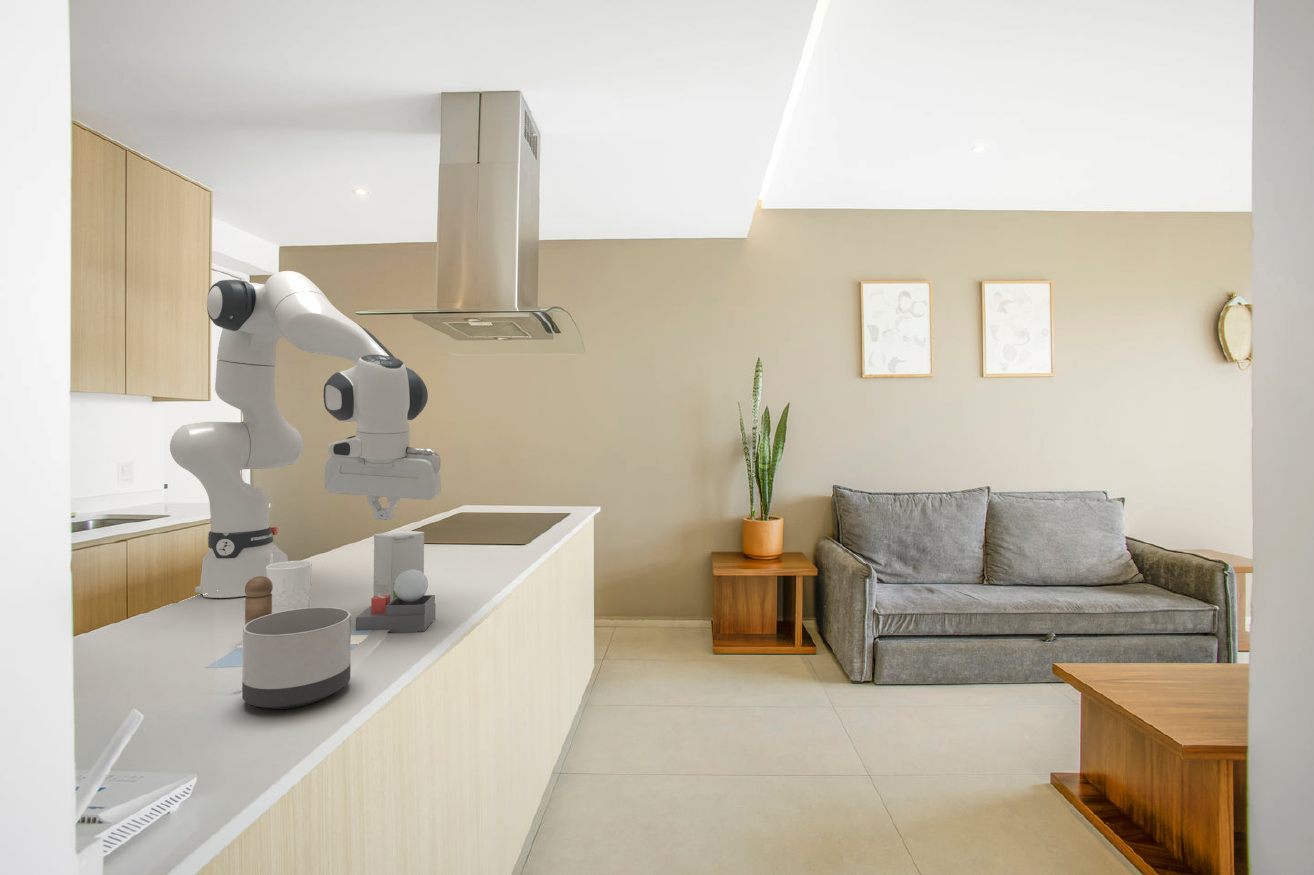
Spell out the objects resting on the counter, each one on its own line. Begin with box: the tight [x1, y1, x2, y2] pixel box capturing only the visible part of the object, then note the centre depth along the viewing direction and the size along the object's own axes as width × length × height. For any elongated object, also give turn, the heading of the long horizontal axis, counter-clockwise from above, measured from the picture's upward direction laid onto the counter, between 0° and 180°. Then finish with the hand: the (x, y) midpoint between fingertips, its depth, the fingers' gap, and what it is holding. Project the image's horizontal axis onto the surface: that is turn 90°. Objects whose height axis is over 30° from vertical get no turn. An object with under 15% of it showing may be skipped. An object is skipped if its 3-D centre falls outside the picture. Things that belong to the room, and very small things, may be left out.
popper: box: [355, 594, 436, 634], centre depth 113 cm, size 8×12×6 cm, turn 97°
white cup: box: [266, 560, 313, 614], centre depth 120 cm, size 8×8×10 cm
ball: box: [394, 569, 429, 602], centre depth 113 cm, size 6×6×6 cm
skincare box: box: [372, 530, 425, 602], centre depth 126 cm, size 8×7×16 cm
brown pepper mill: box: [244, 576, 273, 625], centre depth 102 cm, size 4×4×11 cm
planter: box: [241, 606, 352, 710], centre depth 83 cm, size 13×13×10 cm
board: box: [204, 630, 374, 669], centre depth 100 cm, size 16×20×1 cm
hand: (384, 518), depth 110 cm, fingers closed
